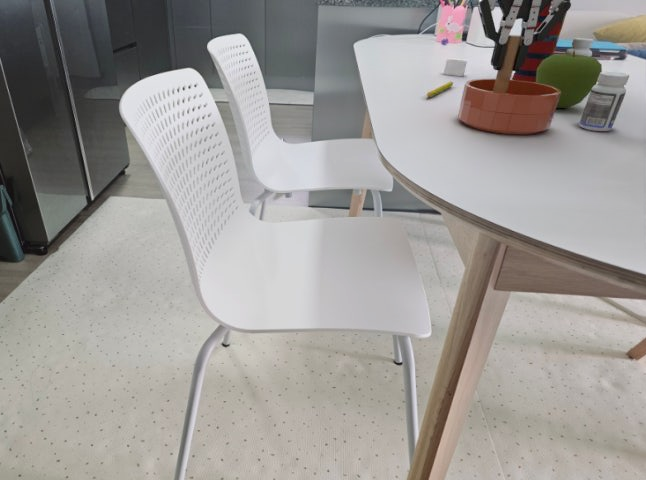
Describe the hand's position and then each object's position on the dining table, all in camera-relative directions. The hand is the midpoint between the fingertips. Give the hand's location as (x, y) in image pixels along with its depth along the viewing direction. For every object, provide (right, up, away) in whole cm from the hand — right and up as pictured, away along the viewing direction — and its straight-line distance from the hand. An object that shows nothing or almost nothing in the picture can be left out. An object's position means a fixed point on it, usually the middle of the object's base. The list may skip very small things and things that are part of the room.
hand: (505, 69), depth 76 cm
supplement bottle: (+32, +12, +35) cm, 48 cm away
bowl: (+1, -8, +3) cm, 9 cm away
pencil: (-2, +6, +24) cm, 25 cm away
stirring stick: (0, -6, +4) cm, 7 cm away
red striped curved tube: (+23, +12, +35) cm, 43 cm away
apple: (+17, -1, +14) cm, 22 cm away
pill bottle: (+16, -9, +2) cm, 18 cm away
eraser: (+8, +18, +44) cm, 49 cm away
